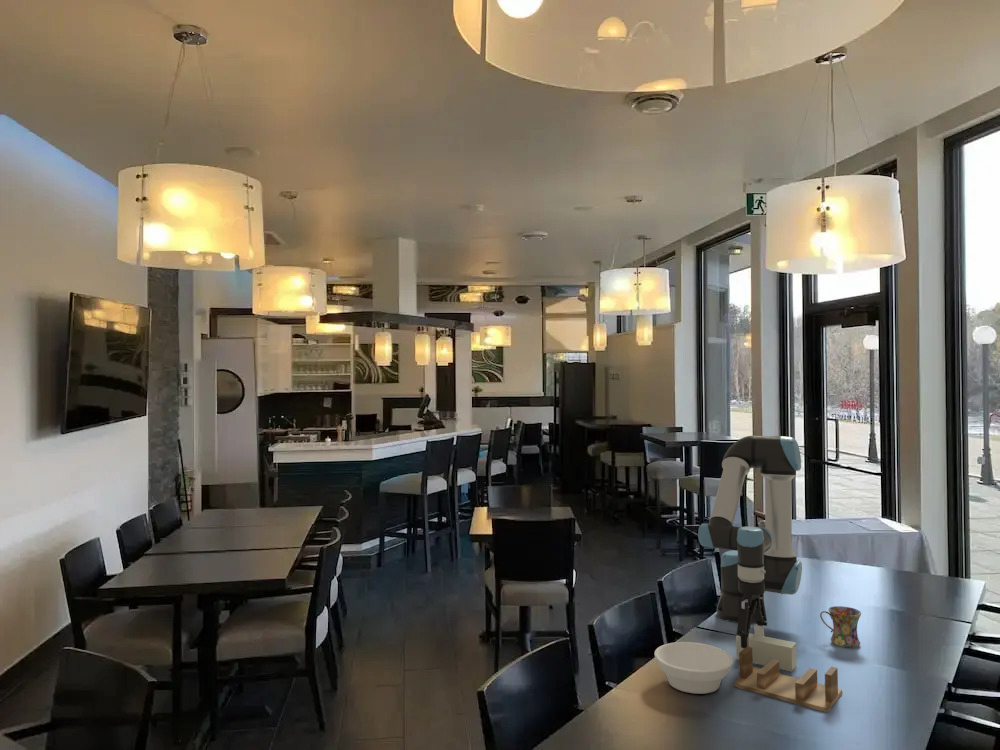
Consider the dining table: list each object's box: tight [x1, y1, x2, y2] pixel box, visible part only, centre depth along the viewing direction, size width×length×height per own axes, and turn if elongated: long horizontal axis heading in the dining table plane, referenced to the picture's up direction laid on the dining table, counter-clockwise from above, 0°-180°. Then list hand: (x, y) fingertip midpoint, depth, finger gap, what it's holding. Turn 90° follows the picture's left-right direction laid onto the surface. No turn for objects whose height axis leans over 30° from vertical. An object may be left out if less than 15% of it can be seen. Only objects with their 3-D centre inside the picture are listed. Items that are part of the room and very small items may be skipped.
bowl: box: [654, 641, 734, 695], centre depth 190 cm, size 21×21×8 cm
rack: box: [733, 647, 843, 713], centre depth 186 cm, size 24×14×8 cm, turn 49°
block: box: [735, 632, 798, 673], centre depth 205 cm, size 16×5×7 cm, turn 53°
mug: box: [819, 605, 862, 648], centre depth 219 cm, size 12×9×11 cm
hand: (752, 652), depth 207 cm, fingers open, 11 cm apart
